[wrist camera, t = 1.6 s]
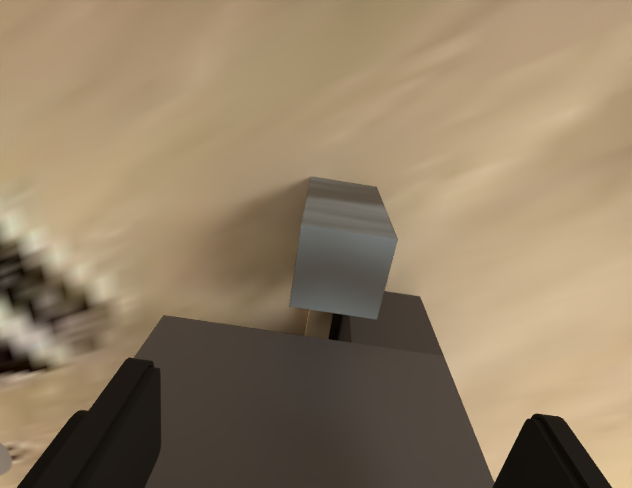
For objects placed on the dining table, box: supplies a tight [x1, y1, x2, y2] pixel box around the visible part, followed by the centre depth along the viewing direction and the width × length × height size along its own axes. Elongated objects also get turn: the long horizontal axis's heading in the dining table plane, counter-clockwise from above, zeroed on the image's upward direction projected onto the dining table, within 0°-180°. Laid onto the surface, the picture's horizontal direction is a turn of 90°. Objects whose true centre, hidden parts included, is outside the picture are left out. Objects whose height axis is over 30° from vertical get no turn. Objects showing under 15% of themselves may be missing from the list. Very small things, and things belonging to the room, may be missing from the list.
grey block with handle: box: [289, 177, 398, 339], centre depth 24 cm, size 23×4×8 cm, turn 171°
